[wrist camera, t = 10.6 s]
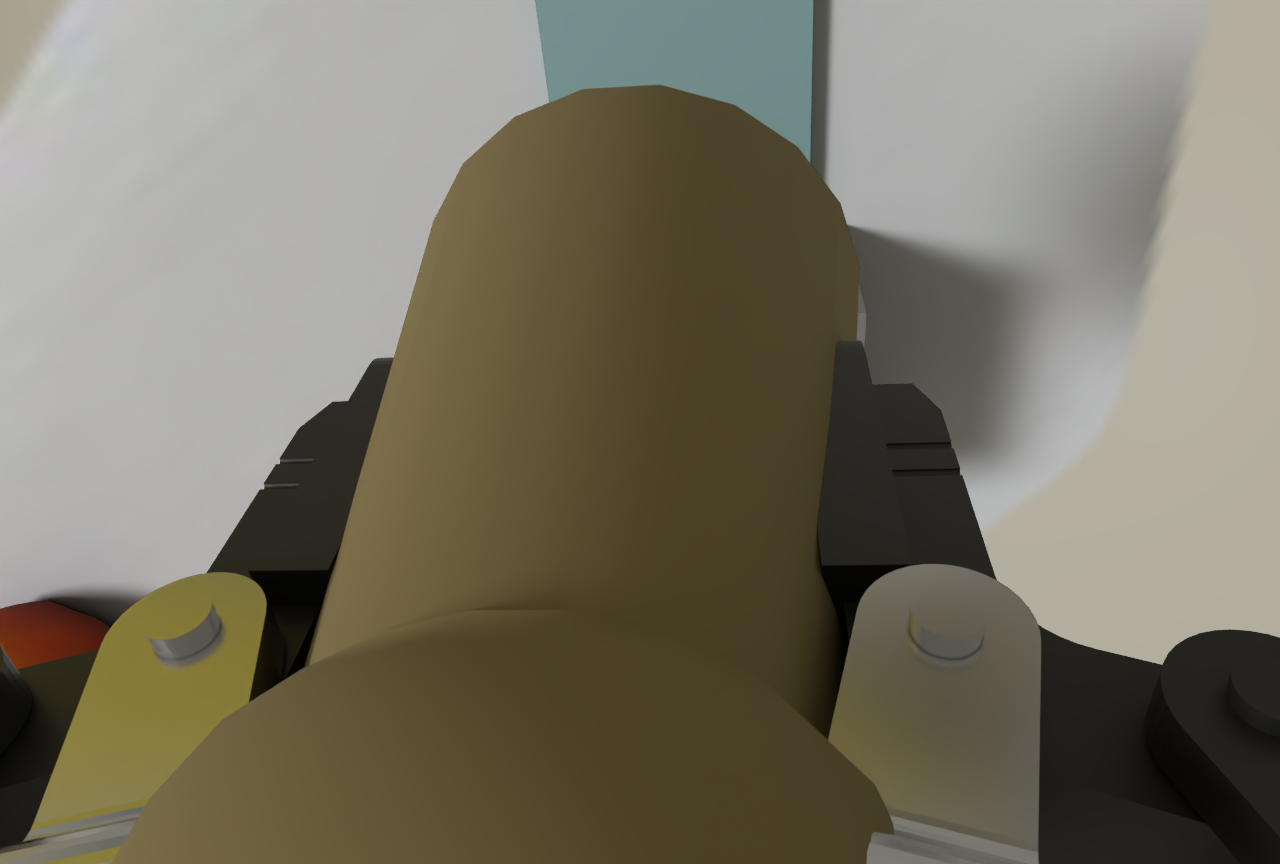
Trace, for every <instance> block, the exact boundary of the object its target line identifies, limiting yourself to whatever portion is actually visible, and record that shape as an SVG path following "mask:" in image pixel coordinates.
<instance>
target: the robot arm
mask: <svg viewBox="0 0 1280 864" xmlns="http://www.w3.org/2000/svg"><path fill="white" fill-rule="evenodd" d="M393 359H394V358H377V359H374V360H373V361H372V362H371V363H370V365H369V367H368V368H367V370H366V372H365V373H364V375H363V377H362V378H361V380H360V382H359V384H358V385H357V387H356V389H355V390H354V392H353V394H352V395H351V397H350V399H349V400H348V401H342V402H332V403H331V404H329V405H328V406H327V407H326V408H324V409H323V410H322V411H320V412H319V413H318V414H317V415H315V416H314V417H313V418H312V419H310V420H309V421H308V422H306V423H305V424H304V425H303V426H301V427H300V428H299V429H298V431H297V432H296V434H295V435H294V437H293V439H292V440H291V442H290V443H289V445H288V446H287V448H286V450H285V451H284V453H283V454H282V456H281V457H280V464H276V465H275V467H274V468H273V470H272V471H271V473H270V475H269V476H268V478H267V479H266V481H265V482H264V486H265V487H264V490H259V492H258V493H257V495H256V496H255V498H254V500H253V501H252V503H251V504H250V506H249V507H248V509H247V511H246V512H245V514H244V515H243V517H242V518H241V520H240V522H239V523H238V525H237V526H236V528H235V529H234V531H233V533H232V534H231V536H230V537H229V539H228V540H227V542H226V543H225V545H224V547H223V548H222V550H221V551H220V553H219V554H218V556H217V558H216V559H215V561H214V562H213V564H212V565H211V567H210V569H209V570H208V572H207V573H205V574H198V575H194V576H190V577H186V578H183V579H180V580H177V581H175V582H172V583H170V584H167V585H165V586H163V587H161V588H159V589H157V590H155V591H153V592H152V593H150V594H148V595H146V596H145V597H143V598H142V599H141V600H139V601H138V602H136V603H135V604H133V605H132V606H131V607H130V608H129V609H128V610H127V611H125V612H124V613H123V614H122V615H121V616H120V617H119V618H118V619H117V621H116V622H115V623H114V624H113V625H112V627H111V628H110V629H109V631H108V632H107V634H106V635H105V638H104V640H103V642H102V644H101V646H100V649H96V650H92V651H88V652H84V653H80V654H76V655H72V656H68V657H64V658H60V659H56V660H52V661H48V662H44V663H40V664H36V665H32V666H28V667H24V668H20V669H17V668H16V667H15V665H14V664H13V662H12V661H11V659H10V658H9V657H8V655H7V654H6V652H5V651H4V650H3V648H2V647H1V645H0V864H112V862H113V860H114V858H115V857H116V855H117V853H118V851H119V850H120V848H121V846H122V844H123V843H124V841H125V839H126V838H127V836H128V834H129V832H130V831H131V829H132V827H133V825H134V824H135V822H136V820H137V818H138V817H139V815H140V813H141V812H142V810H143V808H144V806H145V805H146V803H147V801H148V799H149V798H150V797H151V796H152V795H153V794H154V793H155V792H156V791H157V790H158V789H159V787H160V786H161V785H162V784H163V783H164V782H165V781H166V780H167V779H168V778H169V777H170V776H171V775H172V773H173V772H174V771H175V770H176V769H177V768H178V767H179V766H180V765H181V764H182V763H183V762H184V760H185V759H186V758H187V757H188V756H189V755H190V754H191V753H192V752H193V751H194V750H195V749H196V748H197V746H198V745H199V744H200V743H201V742H202V741H203V740H204V739H205V738H206V737H207V736H208V735H209V733H210V732H211V731H212V730H213V729H214V728H215V727H216V726H217V725H218V724H219V723H220V722H221V721H222V719H224V718H225V717H227V716H229V715H230V714H232V713H233V712H235V711H236V710H238V709H240V708H241V707H243V706H244V705H246V704H247V703H249V702H251V701H252V700H254V699H255V698H257V697H258V696H260V695H262V694H263V693H265V692H266V691H268V690H269V689H271V688H273V687H274V686H276V685H277V684H279V683H280V682H282V681H284V680H285V679H287V678H288V677H290V676H291V675H293V674H295V673H296V672H298V671H299V670H301V669H303V668H304V666H305V663H306V659H307V656H308V652H309V649H310V645H311V642H312V638H313V635H314V632H315V628H316V625H317V621H318V618H319V614H320V611H321V607H322V604H323V601H324V597H325V594H326V590H327V587H328V583H329V580H330V576H331V573H332V570H333V567H334V564H335V561H336V558H337V555H338V552H339V549H340V546H341V543H342V539H343V535H344V532H345V528H346V524H347V521H348V517H349V513H350V509H351V506H352V502H353V498H354V494H355V491H356V487H357V483H358V480H359V476H360V473H361V469H362V466H363V463H364V459H365V456H366V452H367V449H368V445H369V442H370V438H371V435H372V432H373V428H374V425H375V421H376V418H377V414H378V411H379V407H380V404H381V400H382V397H383V394H384V390H385V387H386V383H387V380H388V376H389V373H390V369H391V366H392V363H393ZM817 532H818V543H819V555H820V566H821V576H822V578H823V580H824V583H825V585H826V588H827V590H828V592H829V595H830V597H831V600H832V602H833V605H834V607H835V610H836V612H837V615H838V617H839V619H840V622H841V624H842V627H843V639H844V651H845V666H844V670H843V675H842V679H841V684H840V688H839V693H838V697H837V702H836V706H835V711H834V715H833V720H832V724H831V729H830V733H829V738H828V741H829V742H830V743H831V744H832V745H834V746H835V747H836V748H837V749H838V750H839V751H840V752H841V753H842V754H843V755H844V756H845V757H846V758H847V759H848V760H849V761H851V762H852V763H853V764H854V765H855V766H856V767H857V768H858V769H859V770H860V771H861V772H862V773H863V774H864V775H865V776H866V777H868V778H869V779H870V780H871V781H872V782H873V783H874V784H875V785H876V788H877V790H878V792H879V794H880V796H881V798H882V800H883V802H884V804H885V806H886V808H887V810H888V812H889V815H890V817H891V820H892V822H893V826H894V835H892V834H888V833H884V832H880V831H875V832H873V834H872V835H871V841H870V843H869V847H868V851H867V864H1280V638H1279V637H1275V636H1271V635H1268V634H1263V633H1258V632H1252V631H1242V630H1215V631H1210V632H1204V633H1200V634H1197V635H1194V636H1192V637H1189V638H1187V639H1185V640H1184V641H1182V642H1180V643H1179V644H1177V645H1176V646H1175V647H1174V648H1173V649H1172V650H1171V651H1170V652H1169V653H1168V655H1167V657H1166V659H1165V661H1164V663H1163V665H1160V664H1156V663H1152V662H1148V661H1143V660H1139V659H1135V658H1131V657H1127V656H1123V655H1119V654H1114V653H1110V652H1106V651H1102V650H1097V649H1094V648H1090V647H1087V646H1083V645H1080V644H1077V643H1074V642H1071V641H1069V640H1067V639H1064V638H1061V637H1059V636H1057V635H1055V634H1053V633H1052V632H1050V631H1048V630H1046V629H1044V628H1042V627H1041V626H1039V625H1038V624H1037V621H1036V619H1035V617H1034V615H1033V614H1032V612H1031V610H1030V609H1029V607H1028V606H1027V605H1026V604H1025V603H1024V602H1023V600H1022V599H1021V598H1020V597H1019V596H1018V595H1016V594H1015V593H1014V592H1013V591H1012V590H1010V589H1009V588H1008V587H1006V586H1005V585H1003V584H1002V583H1000V582H999V581H997V579H996V577H995V574H994V571H993V568H992V565H991V562H990V559H989V556H988V553H987V550H986V547H985V544H984V540H983V537H982V534H981V531H980V528H979V525H978V522H977V519H976V516H975V513H974V510H973V507H972V504H971V501H970V498H969V495H968V491H967V488H966V485H965V482H964V479H963V476H962V475H960V467H959V464H958V461H957V458H956V455H955V452H954V449H953V448H951V439H950V436H949V433H948V430H947V427H946V424H945V421H944V418H943V415H942V412H941V410H940V409H939V408H938V407H937V406H936V405H935V404H934V403H933V402H932V401H931V400H929V399H928V398H927V397H926V396H925V395H924V394H923V393H922V392H921V391H920V390H919V389H918V388H916V387H915V386H914V385H913V384H882V385H872V381H871V377H870V372H869V368H868V364H867V359H866V355H865V351H864V346H863V343H862V341H861V340H859V341H838V342H837V343H836V348H835V360H834V372H833V384H832V396H831V408H830V420H829V428H828V436H827V444H826V453H825V461H824V469H823V477H822V485H821V493H820V501H819V509H818V517H817Z"/></svg>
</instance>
